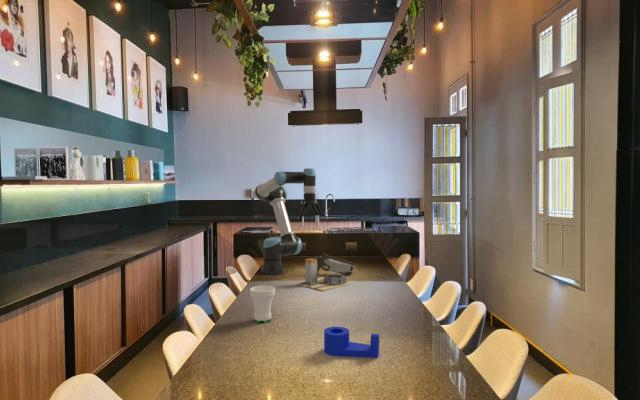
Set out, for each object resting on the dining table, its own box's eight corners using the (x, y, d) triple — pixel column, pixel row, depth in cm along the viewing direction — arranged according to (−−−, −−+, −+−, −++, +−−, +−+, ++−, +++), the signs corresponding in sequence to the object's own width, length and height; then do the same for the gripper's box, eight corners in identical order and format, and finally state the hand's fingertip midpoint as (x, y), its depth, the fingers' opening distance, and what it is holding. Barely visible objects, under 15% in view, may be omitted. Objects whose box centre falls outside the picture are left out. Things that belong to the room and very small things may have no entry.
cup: (254, 326, 181) (254, 293, 181) (246, 318, 191) (246, 287, 190) (279, 322, 186) (279, 289, 186) (270, 315, 196) (270, 284, 196)
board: (296, 284, 254) (296, 283, 254) (327, 277, 272) (327, 276, 272) (323, 291, 238) (323, 290, 238) (353, 283, 256) (353, 282, 256)
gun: (349, 285, 278) (355, 263, 277) (308, 273, 278) (315, 251, 277) (348, 283, 283) (355, 261, 282) (308, 271, 283) (315, 250, 282)
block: (311, 284, 250) (311, 260, 249) (305, 282, 254) (305, 259, 253) (317, 282, 254) (317, 259, 253) (311, 281, 257) (311, 258, 257)
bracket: (321, 355, 151) (321, 334, 151) (327, 345, 160) (327, 325, 160) (376, 361, 147) (377, 339, 146) (379, 350, 155) (380, 330, 155)
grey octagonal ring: (319, 282, 256) (319, 276, 256) (334, 278, 266) (334, 273, 265) (335, 286, 247) (335, 280, 247) (350, 282, 256) (350, 276, 256)
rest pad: (300, 283, 254) (300, 282, 254) (311, 280, 260) (311, 280, 260) (310, 286, 247) (310, 285, 247) (321, 283, 254) (321, 282, 254)
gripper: (298, 193, 260) (298, 228, 261) (327, 192, 277) (327, 225, 278) (290, 193, 265) (290, 227, 266) (319, 192, 282) (319, 224, 283)
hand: (309, 226), depth 272 cm, fingers open, 13 cm apart
